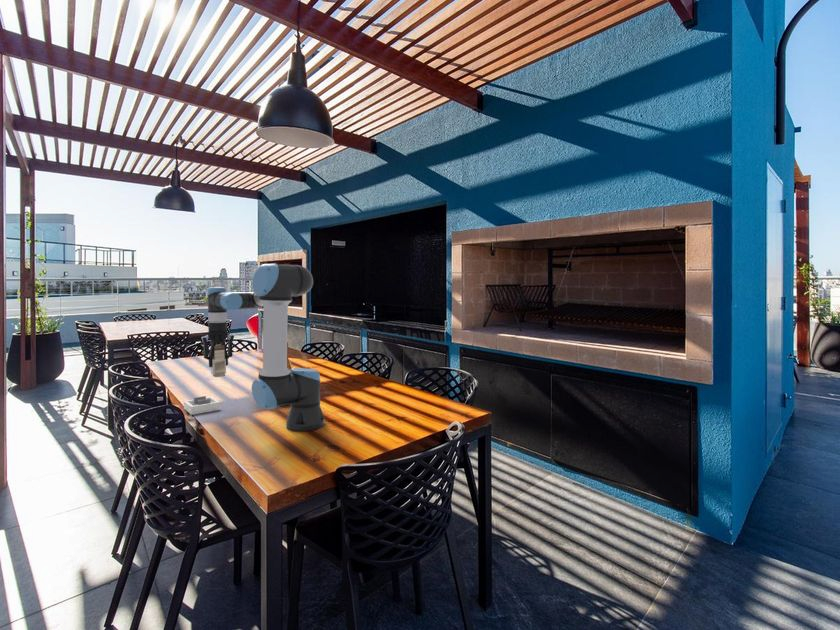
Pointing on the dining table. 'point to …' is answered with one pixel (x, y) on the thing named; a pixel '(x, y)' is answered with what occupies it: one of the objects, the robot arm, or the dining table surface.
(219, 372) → the wood grain beam
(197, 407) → the white square frame
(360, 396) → the dining table surface
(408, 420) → the dining table surface
